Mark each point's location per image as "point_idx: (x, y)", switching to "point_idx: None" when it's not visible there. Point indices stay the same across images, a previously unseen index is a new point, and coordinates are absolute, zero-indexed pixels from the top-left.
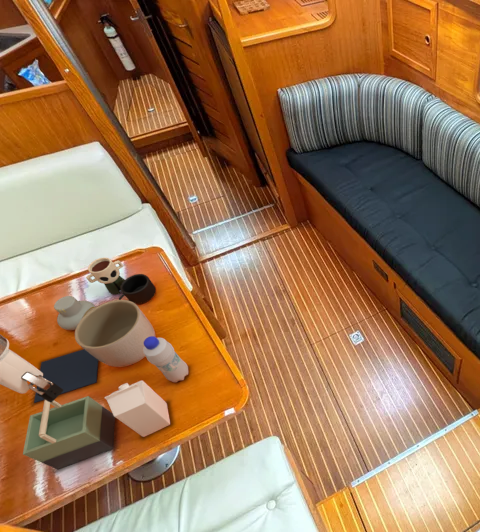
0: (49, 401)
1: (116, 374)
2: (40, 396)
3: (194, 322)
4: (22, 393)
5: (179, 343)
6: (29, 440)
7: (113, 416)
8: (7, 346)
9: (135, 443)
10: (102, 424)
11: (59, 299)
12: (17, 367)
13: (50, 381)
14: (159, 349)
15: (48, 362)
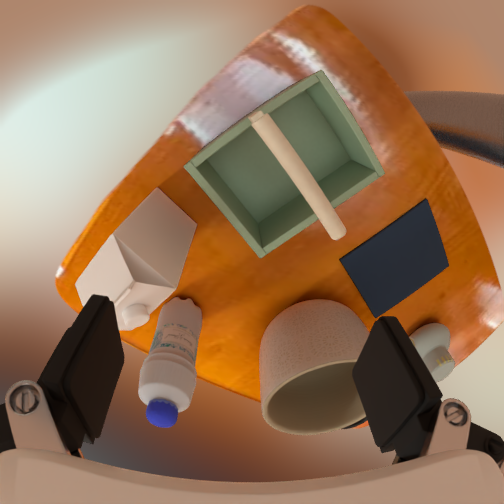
0: (88, 302)
1: (310, 282)
2: (52, 362)
3: (230, 383)
4: (10, 454)
5: (228, 354)
6: (337, 108)
7: None
8: None
9: (165, 171)
10: None
11: (450, 372)
12: None
13: (91, 443)
14: (143, 397)
15: (439, 268)
